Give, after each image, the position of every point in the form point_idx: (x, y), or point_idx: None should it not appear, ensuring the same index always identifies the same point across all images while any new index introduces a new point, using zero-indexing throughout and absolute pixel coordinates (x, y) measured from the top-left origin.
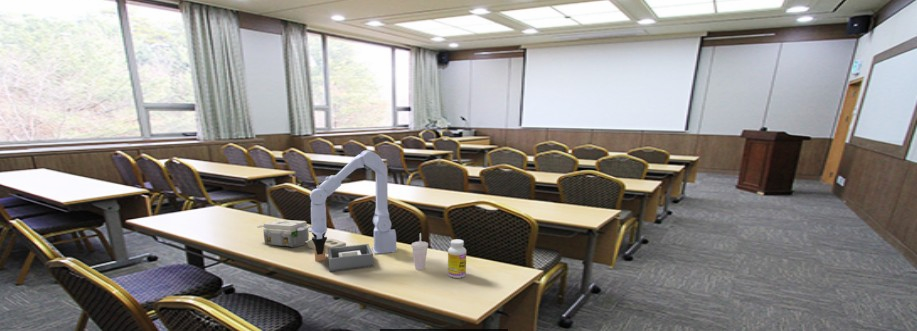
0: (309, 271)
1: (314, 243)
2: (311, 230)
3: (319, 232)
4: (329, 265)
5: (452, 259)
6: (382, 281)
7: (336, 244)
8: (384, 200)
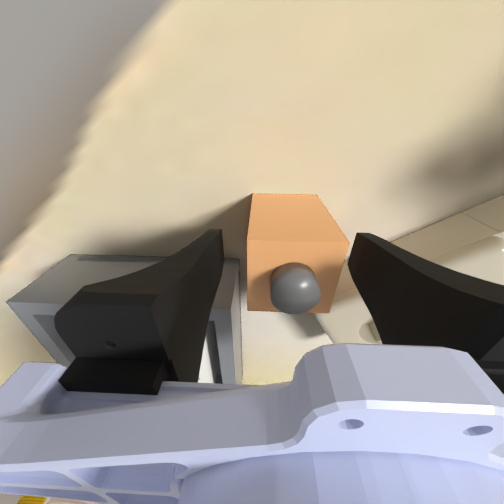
0: (75, 155)
1: (130, 276)
2: (290, 449)
3: (77, 488)
4: (63, 272)
5: (22, 496)
6: (13, 367)
7: (348, 336)
8: None
